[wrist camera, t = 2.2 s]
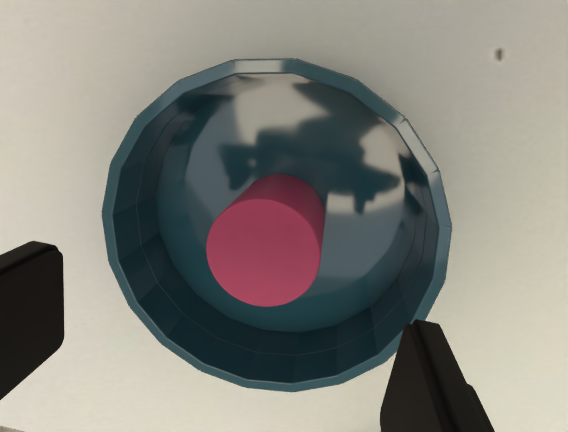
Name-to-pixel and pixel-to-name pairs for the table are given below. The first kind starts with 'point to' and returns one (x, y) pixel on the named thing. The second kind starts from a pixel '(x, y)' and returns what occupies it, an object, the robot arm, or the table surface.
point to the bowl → (236, 179)
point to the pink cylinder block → (268, 241)
